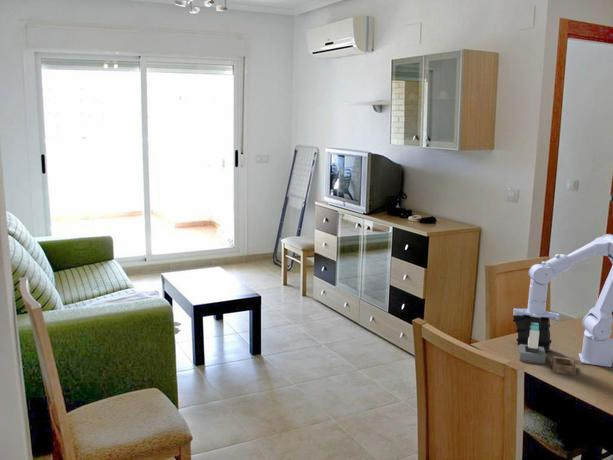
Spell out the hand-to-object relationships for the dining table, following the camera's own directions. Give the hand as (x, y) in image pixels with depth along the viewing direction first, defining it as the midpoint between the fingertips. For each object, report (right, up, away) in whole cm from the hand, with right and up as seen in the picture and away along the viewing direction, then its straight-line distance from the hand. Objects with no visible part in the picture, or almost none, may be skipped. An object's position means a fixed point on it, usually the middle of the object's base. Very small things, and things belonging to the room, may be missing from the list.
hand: (533, 336), depth 199 cm
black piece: (+3, -6, +12) cm, 14 cm away
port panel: (0, -8, +1) cm, 8 cm away
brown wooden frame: (+7, -9, -7) cm, 14 cm away
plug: (0, -3, 0) cm, 3 cm away
